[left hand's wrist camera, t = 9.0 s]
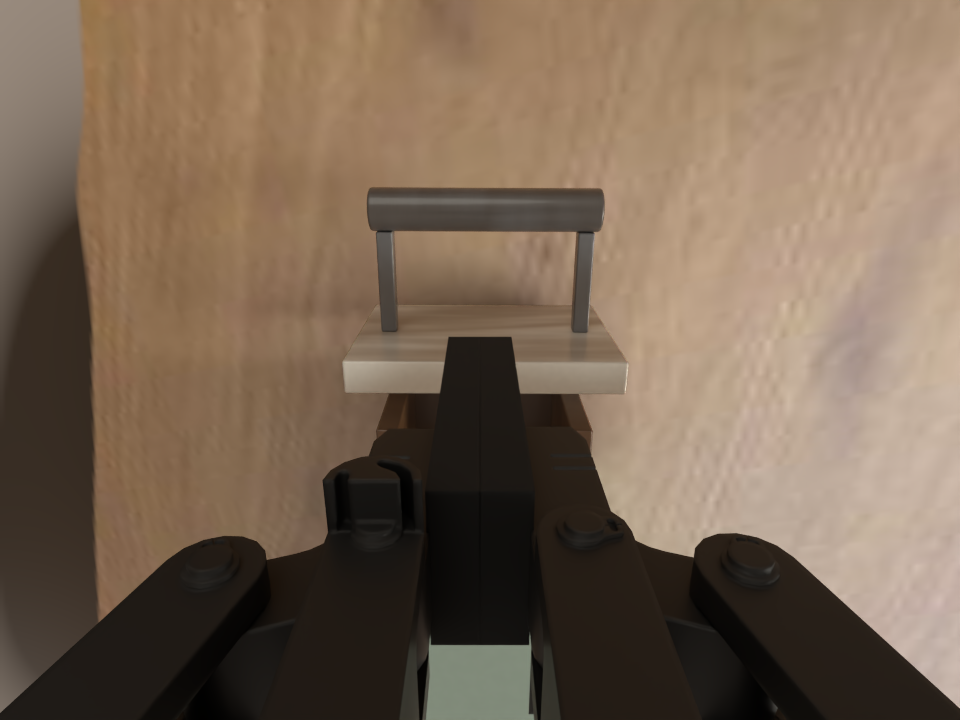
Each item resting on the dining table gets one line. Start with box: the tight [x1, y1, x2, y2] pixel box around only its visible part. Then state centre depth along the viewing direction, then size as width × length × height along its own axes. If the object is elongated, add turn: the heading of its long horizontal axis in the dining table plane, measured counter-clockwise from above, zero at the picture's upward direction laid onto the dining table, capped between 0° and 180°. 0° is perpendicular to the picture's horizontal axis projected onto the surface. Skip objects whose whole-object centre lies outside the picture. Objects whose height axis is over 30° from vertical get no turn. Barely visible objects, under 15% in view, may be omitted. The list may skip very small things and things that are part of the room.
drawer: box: [342, 187, 628, 452], centre depth 26 cm, size 25×10×7 cm, turn 0°
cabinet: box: [426, 639, 534, 720], centre depth 31 cm, size 21×11×9 cm, turn 0°
